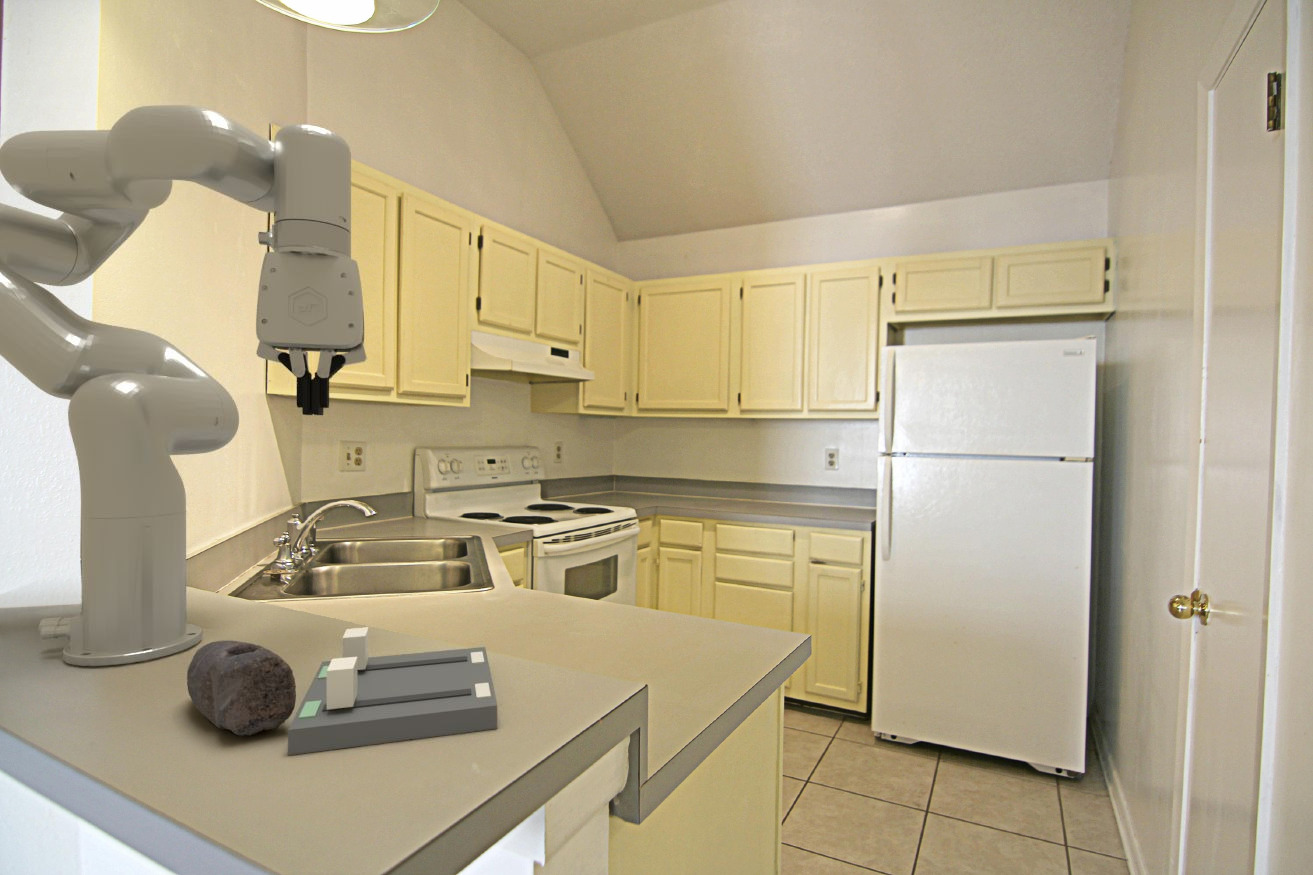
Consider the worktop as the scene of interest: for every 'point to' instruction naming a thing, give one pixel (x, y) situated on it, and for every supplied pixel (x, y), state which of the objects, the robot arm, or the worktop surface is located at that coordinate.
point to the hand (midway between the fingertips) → (313, 414)
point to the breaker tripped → (342, 683)
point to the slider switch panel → (400, 702)
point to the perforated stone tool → (241, 686)
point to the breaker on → (357, 645)
